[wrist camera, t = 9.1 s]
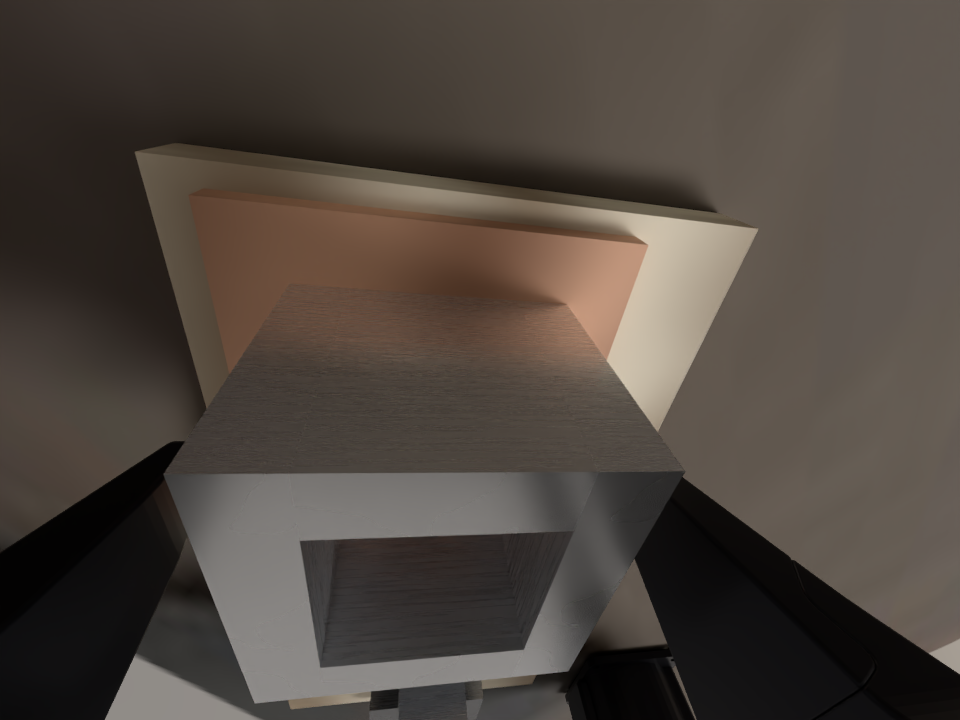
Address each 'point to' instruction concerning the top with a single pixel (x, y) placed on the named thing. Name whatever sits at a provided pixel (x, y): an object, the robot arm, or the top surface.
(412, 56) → the top surface
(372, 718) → the bench vise
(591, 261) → the board
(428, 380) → the steel collar
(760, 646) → the robot arm
